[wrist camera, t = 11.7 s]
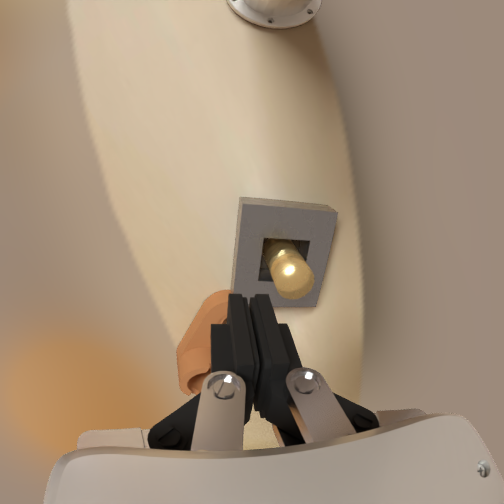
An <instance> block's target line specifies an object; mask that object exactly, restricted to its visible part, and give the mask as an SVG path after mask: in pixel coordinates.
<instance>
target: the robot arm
mask: <svg viewBox="0 0 504 504" xmlns="http://www.w3.org/2000/svg"><path fill="white" fill-rule="evenodd" d="M227 2H228V4H229V5H230V7H231V8H232V9H233V10H234V11H235V12H236V13H237V14H238V15H239V16H241V17H242V18H244V19H245V20H247V21H249V22H251V23H253V24H256V25H259V26H263V27H268V28H277V29H284V28H292V27H296V26H299V25H302V24H304V23H306V22H307V21H309V20H310V19H312V18H313V17H314V16H315V15H316V13H317V12H318V10H319V9H320V6H321V3H322V0H235V1H232V0H227ZM308 13H309V14H308ZM268 21H270V22H271V23H269V22H268ZM253 404H254V409H255V411H259V412H260V417H261V418H266V420H267V421H269V422H270V423H272V428H273V431H274V433H275V436H276V438H277V441H278V443H279V446H280V447H277V448H267V449H255V450H243V434H244V425H245V424H246V423H247V422H248V421H249V419H250V414H251V411H252V406H253ZM43 504H504V481H503V479H502V476H501V474H500V472H499V470H498V468H497V466H496V464H495V462H494V460H493V458H492V456H491V454H490V452H489V451H488V449H487V447H486V445H485V444H484V442H483V440H482V439H481V437H480V436H479V434H478V432H477V431H476V430H475V429H474V427H473V426H472V424H471V423H470V422H469V421H468V420H467V419H465V418H464V417H462V416H461V415H458V414H454V413H432V414H426V413H425V412H423V411H422V410H420V409H404V410H386V411H377V412H376V413H373V412H371V411H370V410H368V409H366V408H364V407H362V406H359V405H357V404H355V403H353V402H351V401H349V400H347V399H345V398H343V397H341V396H339V395H337V394H335V393H333V392H332V391H331V389H330V388H329V386H328V384H327V383H326V381H325V379H324V378H323V377H322V375H321V374H320V373H318V372H317V371H316V370H313V369H310V368H305V367H302V364H301V361H300V358H299V355H298V353H297V350H296V347H295V344H294V341H293V338H292V335H291V332H290V330H289V327H288V325H287V324H278V323H277V319H276V316H275V313H274V310H273V306H272V303H271V300H270V297H269V294H255V296H254V297H250V302H249V306H248V300H247V297H242V294H231V293H229V295H228V309H227V324H211V374H210V375H208V376H207V377H206V378H205V380H204V382H203V385H202V390H201V392H200V393H199V394H198V395H196V396H195V397H194V398H193V399H191V400H190V401H189V402H187V403H186V404H184V405H183V406H181V407H180V408H179V409H177V410H176V411H175V412H173V413H172V414H170V415H169V416H167V417H166V418H165V419H163V420H162V421H160V422H159V423H157V424H156V425H155V426H153V428H151V429H145V430H141V428H129V429H114V430H91V431H86V432H84V433H83V434H81V435H80V437H79V438H78V442H77V450H75V451H72V452H69V453H67V454H65V455H63V456H62V457H61V458H60V459H59V460H58V461H57V462H56V464H55V466H54V467H53V470H52V472H51V474H50V477H49V480H48V484H47V488H46V492H45V497H44V503H43Z"/></svg>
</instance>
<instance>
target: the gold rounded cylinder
mask: <svg viewBox="0 0 504 504" xmlns="http://www.w3.org/2000/svg"><path fill="white" fill-rule="evenodd" d="M262 252H263V256H264V259H265V261H266V264H267V266H268V269H269V271H270V274H271V276H272V279H273V281H274V284H275V286H276V289H277V291H278V293H279V294H280V295H281V296H282V297H284V298H286V299H298V298H301V297H303V296H305V295H306V294H307V293H308V292H309V291H310V290H311V289H312V287H313V285H314V274H313V272H312V271H311V269H310V268H309V266H308V265H307V263H306V262H305V260H304V259H303V257H302V256H301V254H300V253H299V251H298V250H297V248H296V247H295V245H294V244H293V243H292V241H291V240H290V239H276V238H269V239H268V240H267V241H266V242H265V244H264V246H263V250H262Z"/></svg>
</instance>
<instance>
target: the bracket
mask: <svg viewBox="0 0 504 504" xmlns="http://www.w3.org/2000/svg"><path fill="white" fill-rule="evenodd" d="M229 293H231V290H222V291H219V292H216V293H214V294H212V295H211V296H210V297H208V298H207V299H206V300H205V302H204V303H203V305H202V306H201V308H200V310H199V311H198V313H197V315H196V317H195V318H194V320H193V322H192V323H191V325H190V327H189V329H188V330H187V332H186V334H185V335H184V337H183V339H182V341H181V342H180V344H179V346H178V348H177V352H176V353H177V365H178V376H179V386H180V389H181V391H182V392H183V393H185V394H186V395H188V396H189V395H190V394H191V393H194V394H196V395H198V394H199V393H200V392H201V390H202V385H203V382H204V380H205V378H206V377H207V376H208V375H210V374H211V324H222V323H223V321H224V320H225V319H226V318H227V309H228V295H229Z"/></svg>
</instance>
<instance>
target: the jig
mask: <svg viewBox="0 0 504 504" xmlns="http://www.w3.org/2000/svg"><path fill="white" fill-rule="evenodd" d="M337 215H338V212H336V211H335V210H334V209H332V208H331V207H329V206H328V205H321V204H312V203H303V202H293V201H283V200H272V199H261V198H249V197H240V199H239V209H238V218H237V228H236V238H235V248H234V259H233V269H232V280H231V294H242V297H247V300H248V306H249V302H250V297H254V296H255V294H269V297H270V300H271V303H272V306H273V307H316V304H317V300H318V297H319V293H320V289H321V285H322V281H323V277H324V273H325V269H326V265H327V261H328V256H329V252H330V248H331V243H332V239H333V234H334V229H335V225H336V220H337ZM264 238H276V239H292V240H301V241H300V247H299V253H300V254H301V256H302V257H303V259H304V260H305V262H306V263H307V265H308V266H309V268H310V269H311V271H312V272H313V274H314V285H313V287H312V289H311V290H310V291H309V292H308V293H307V294H306V295H305V296H303V297H301V298H298V299H286V298H284V297H282V296H281V295H280V294H279V293H278V291H277V289H276V286H275V284H274V281H273V279H272V276H271V274H270V271H269V269H260V262H261V255H262V248H263V240H264Z"/></svg>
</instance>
